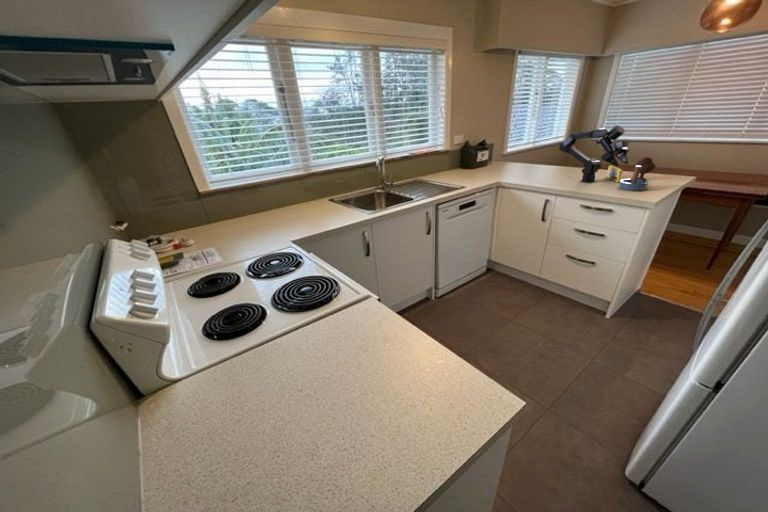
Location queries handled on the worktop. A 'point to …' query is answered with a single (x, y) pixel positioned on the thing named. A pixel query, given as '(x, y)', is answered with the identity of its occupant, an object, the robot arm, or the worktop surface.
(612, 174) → the candy box
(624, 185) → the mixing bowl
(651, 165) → the brown tree model
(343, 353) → the worktop surface
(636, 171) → the stirring stick
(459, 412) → the worktop surface
